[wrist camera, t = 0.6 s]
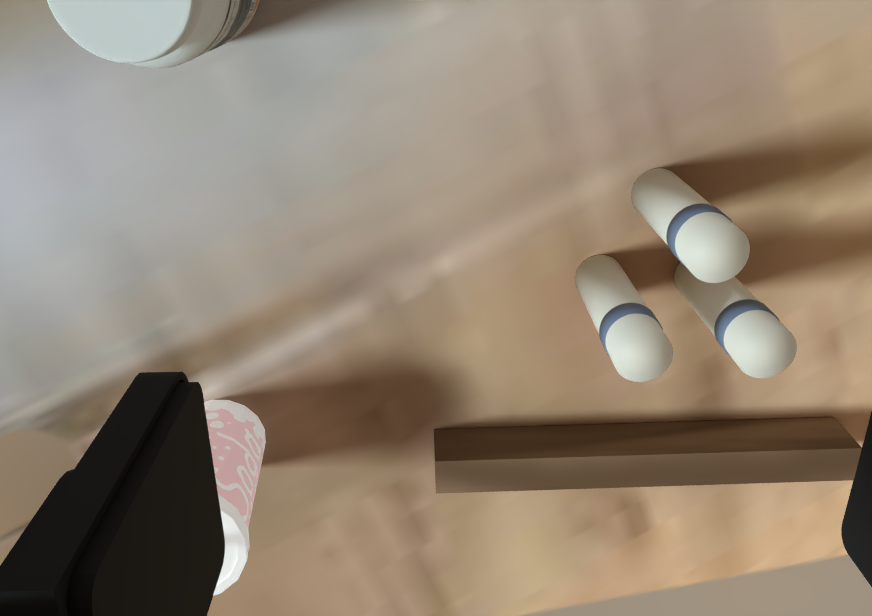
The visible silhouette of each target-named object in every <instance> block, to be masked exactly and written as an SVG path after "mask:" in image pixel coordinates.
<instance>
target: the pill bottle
mask: <svg viewBox="0 0 872 616" xmlns="http://www.w3.org/2000/svg"><path fill="white" fill-rule="evenodd" d="M47 2H48V4H49V6H50V9H51V11H52V13H53V14H54V16H55V18H56V20H57V21H58V22H59V24H60V25H61V27H62V28H63V29H64V30H65V32H66V33H67V34H68V35H69V36H70V37H71V38H72V39H73V40H74V41H75V42H77V43H78V44H79V45H80V46H82V47H83V48H85V49H86V50H88V51H89V52H91V53H93V54H95V55H97V56H99V57H101V58H104V59H106V60H110V61H114V62H119V63H128V64H133V65H137V66H142V67H148V68H169V67H174V66H177V65H180V64H182V63H185V62H187V61H190V60H192V59H194V58H196V57H198V56H200V55H202V54H204V53H206V52H208V51H211V50H213V49H215V48H217V47H219V46H221V45H223V44H225V43H227V42H229V41H231V40H232V39H234V38H235V37H236V36H238V35H239V34H240V33H241V32H242V31H243V30H244V29H245V28H246V27H247V26H248V24H249V23H250V21H251V20H252V18H253V16H254V14H255V12H256V10H257V7H258V4H259V0H47Z"/></svg>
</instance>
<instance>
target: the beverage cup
mask: <svg viewBox="0 0 872 616" xmlns="http://www.w3.org/2000/svg"><path fill="white" fill-rule="evenodd" d="M204 406H205V412H206V419H207V425H208V432H209V438H210V445H211V452H212V458H213V465H214V471H215V478H216V484H217V491H218V497H219V504H220V510H221V517H222V524H223V530H224V537H225V555H224V562H223V566H222V569H221V572H220V575H219V579H218V582H217V585H216V588H215V591H214V594H213V596H214V595H217V594H220V593H222V592H223V591H224V590H225V589H227V588H228V587H229V586H230V585H232V584H233V583H234V582H235V581H237V580H238V578H239V576H240V574H241V572H242V570H243V567H244V565H245V563H246V561H247V558H248V550H249V548H250V547H249V534H248V527H249V522H250V517H251V512H252V507H253V502H254V498H255V493H256V488H257V483H258V478H259V473H260V468H261V464H262V459H263V454H264V449H265V444H266V440H265V429H264V427H263V425H262V423H261V421H260V420H259V418H258V416H257V415H256V414H254V413H253V412H252V411H251V410H249V409H248V408H247V407H246V406H244V405H241V404H239V403H236V402H233V401H230V400H210V401H207V402H204Z"/></svg>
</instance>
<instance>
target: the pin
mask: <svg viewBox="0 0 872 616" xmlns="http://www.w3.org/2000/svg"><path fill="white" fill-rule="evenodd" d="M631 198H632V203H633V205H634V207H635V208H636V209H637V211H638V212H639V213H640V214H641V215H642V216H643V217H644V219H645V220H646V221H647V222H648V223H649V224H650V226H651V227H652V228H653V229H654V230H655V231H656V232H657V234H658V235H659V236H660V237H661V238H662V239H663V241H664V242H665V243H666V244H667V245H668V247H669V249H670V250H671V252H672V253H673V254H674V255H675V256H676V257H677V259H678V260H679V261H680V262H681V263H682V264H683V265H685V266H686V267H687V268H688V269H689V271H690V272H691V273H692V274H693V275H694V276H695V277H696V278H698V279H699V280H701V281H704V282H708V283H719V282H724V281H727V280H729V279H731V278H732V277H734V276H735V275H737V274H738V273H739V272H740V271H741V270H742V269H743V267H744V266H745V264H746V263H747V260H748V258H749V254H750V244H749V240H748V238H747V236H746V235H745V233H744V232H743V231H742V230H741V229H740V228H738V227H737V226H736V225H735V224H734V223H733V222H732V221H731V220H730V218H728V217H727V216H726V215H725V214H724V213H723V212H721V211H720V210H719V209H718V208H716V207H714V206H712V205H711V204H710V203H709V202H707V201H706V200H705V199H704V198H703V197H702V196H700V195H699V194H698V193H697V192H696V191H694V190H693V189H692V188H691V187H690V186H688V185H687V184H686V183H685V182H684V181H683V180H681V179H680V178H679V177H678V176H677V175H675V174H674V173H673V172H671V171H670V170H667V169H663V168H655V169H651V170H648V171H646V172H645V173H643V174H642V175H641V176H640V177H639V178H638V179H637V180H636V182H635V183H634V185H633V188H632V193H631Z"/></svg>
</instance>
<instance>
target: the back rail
mask: <svg viewBox="0 0 872 616" xmlns="http://www.w3.org/2000/svg"><path fill="white" fill-rule="evenodd" d="M434 445H435V478H436V493H462V492H494V491H525V490H557V489H589V488H620V487H652V486H684V485H716V484H747V483H779V482H811V481H842V480H854V477H855V473H856V469H857V466H858V462H859V458H860V454H861V450H862V448H861V446H860V445H859V444H858V443H857V442H856V441H855V440H854V439H853V438H852V437H851V435H850V434H849V433H848V432H847V431H846V430H845V429H844V428H843V427H842V425H841V424H840V423H839V422H838V421H837V420H836V419H835V418H834V417H816V418H783V419H751V420H718V421H686V422H654V423H621V424H589V425H556V426H524V427H491V428H459V429H434Z"/></svg>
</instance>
